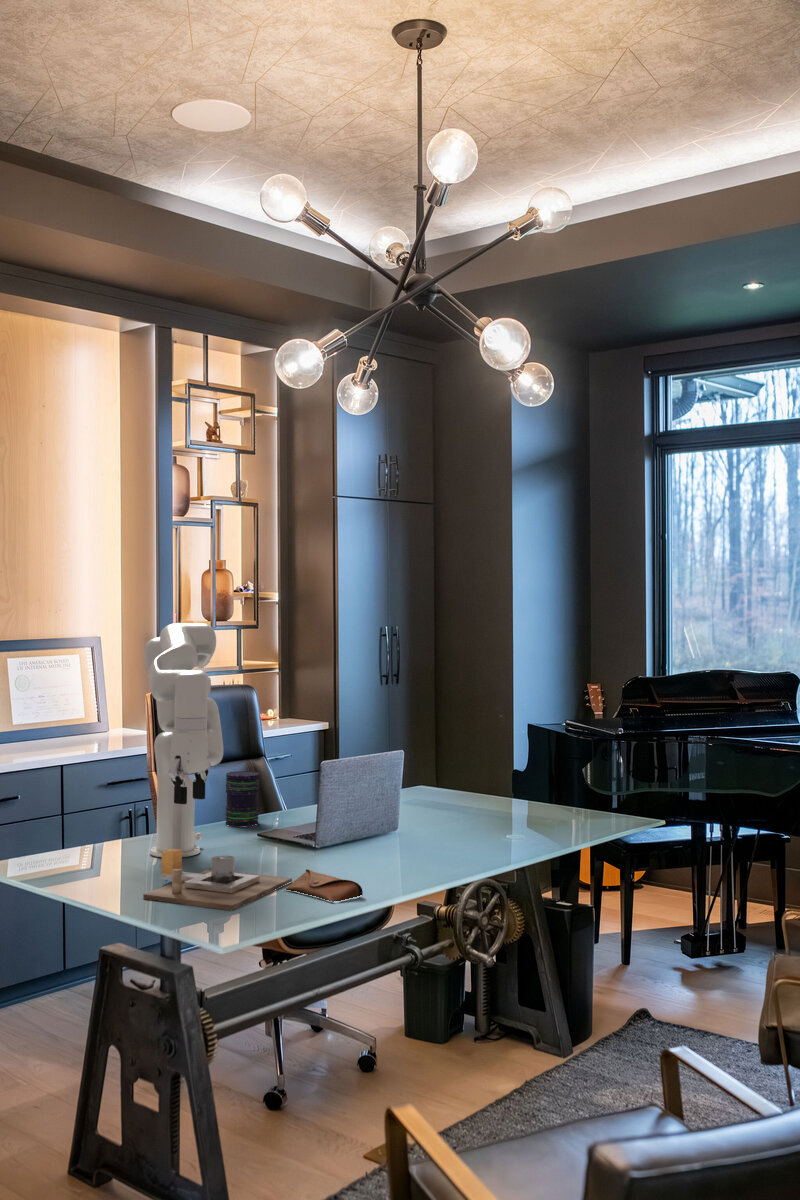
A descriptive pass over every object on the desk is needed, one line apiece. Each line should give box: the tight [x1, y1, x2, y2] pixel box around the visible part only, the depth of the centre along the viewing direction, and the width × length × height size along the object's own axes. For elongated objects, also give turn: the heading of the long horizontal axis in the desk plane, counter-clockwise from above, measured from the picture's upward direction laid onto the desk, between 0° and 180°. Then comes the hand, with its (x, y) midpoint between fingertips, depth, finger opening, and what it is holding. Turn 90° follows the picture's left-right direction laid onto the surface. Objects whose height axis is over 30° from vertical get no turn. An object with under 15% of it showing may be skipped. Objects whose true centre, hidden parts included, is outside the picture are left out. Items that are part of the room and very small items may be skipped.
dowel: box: [171, 868, 183, 894], centre depth 229 cm, size 2×2×5 cm
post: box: [210, 855, 235, 884], centre depth 236 cm, size 5×5×6 cm
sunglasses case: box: [285, 868, 364, 902], centre depth 234 cm, size 18×7×7 cm
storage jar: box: [224, 770, 260, 827], centre depth 314 cm, size 10×10×15 cm
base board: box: [142, 868, 293, 911], centre depth 235 cm, size 26×22×1 cm
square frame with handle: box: [160, 849, 260, 893], centre depth 238 cm, size 21×12×6 cm, turn 68°
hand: (189, 800), depth 248 cm, fingers open, 6 cm apart
